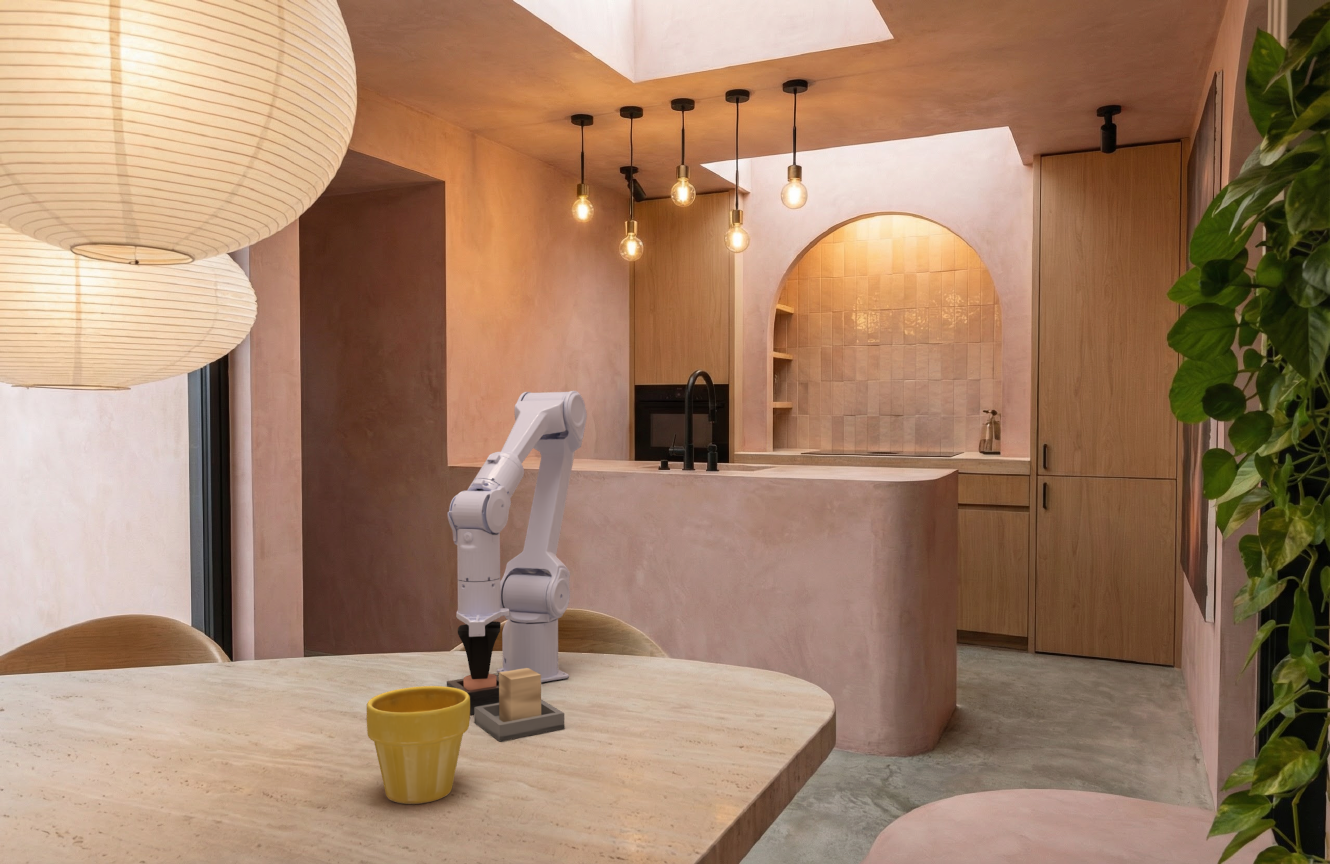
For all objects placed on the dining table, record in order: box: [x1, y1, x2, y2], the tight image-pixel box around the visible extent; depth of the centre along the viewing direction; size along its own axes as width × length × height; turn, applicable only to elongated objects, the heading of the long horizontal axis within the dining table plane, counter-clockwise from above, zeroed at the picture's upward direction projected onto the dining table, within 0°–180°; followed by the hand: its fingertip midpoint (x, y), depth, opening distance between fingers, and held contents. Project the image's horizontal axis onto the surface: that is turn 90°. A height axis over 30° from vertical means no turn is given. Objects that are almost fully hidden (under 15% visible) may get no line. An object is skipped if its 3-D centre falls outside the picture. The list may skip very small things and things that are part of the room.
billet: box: [498, 668, 542, 722], centre depth 117 cm, size 4×4×6 cm
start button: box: [463, 673, 497, 690], centre depth 125 cm, size 4×4×3 cm
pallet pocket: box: [473, 698, 565, 742], centre depth 117 cm, size 9×9×2 cm
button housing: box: [446, 673, 499, 716], centre depth 125 cm, size 7×7×3 cm
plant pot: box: [366, 685, 471, 805], centre depth 96 cm, size 10×10×10 cm
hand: (479, 677), depth 125 cm, fingers closed, pressing on start button
